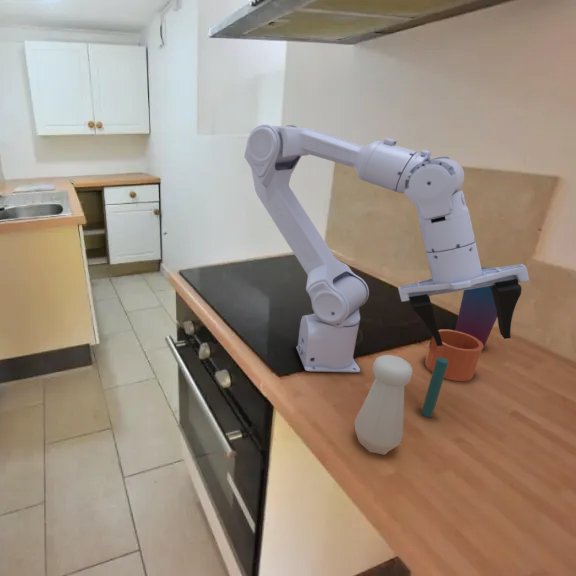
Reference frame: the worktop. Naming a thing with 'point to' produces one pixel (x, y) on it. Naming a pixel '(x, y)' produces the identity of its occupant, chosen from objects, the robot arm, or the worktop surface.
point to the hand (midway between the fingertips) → (471, 339)
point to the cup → (477, 313)
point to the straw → (434, 387)
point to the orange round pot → (455, 354)
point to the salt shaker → (384, 406)
